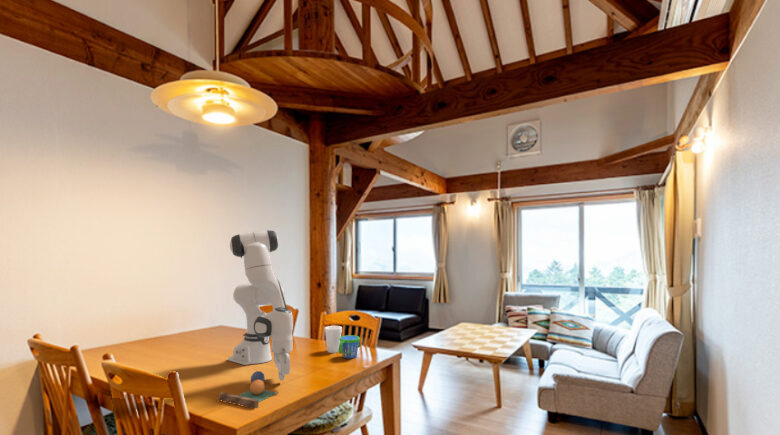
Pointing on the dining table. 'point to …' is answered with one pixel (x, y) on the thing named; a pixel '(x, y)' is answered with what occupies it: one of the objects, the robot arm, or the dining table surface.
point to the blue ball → (257, 376)
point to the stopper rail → (238, 400)
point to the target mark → (259, 397)
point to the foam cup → (333, 338)
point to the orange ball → (257, 387)
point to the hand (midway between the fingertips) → (281, 379)
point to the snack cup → (349, 346)
